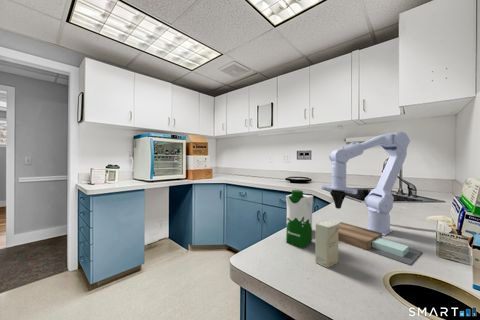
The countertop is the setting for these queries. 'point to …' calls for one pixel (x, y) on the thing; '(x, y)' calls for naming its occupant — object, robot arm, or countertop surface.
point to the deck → (357, 235)
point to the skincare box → (326, 243)
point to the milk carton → (299, 219)
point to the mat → (407, 259)
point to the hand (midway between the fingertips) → (338, 208)
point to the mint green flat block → (390, 247)
